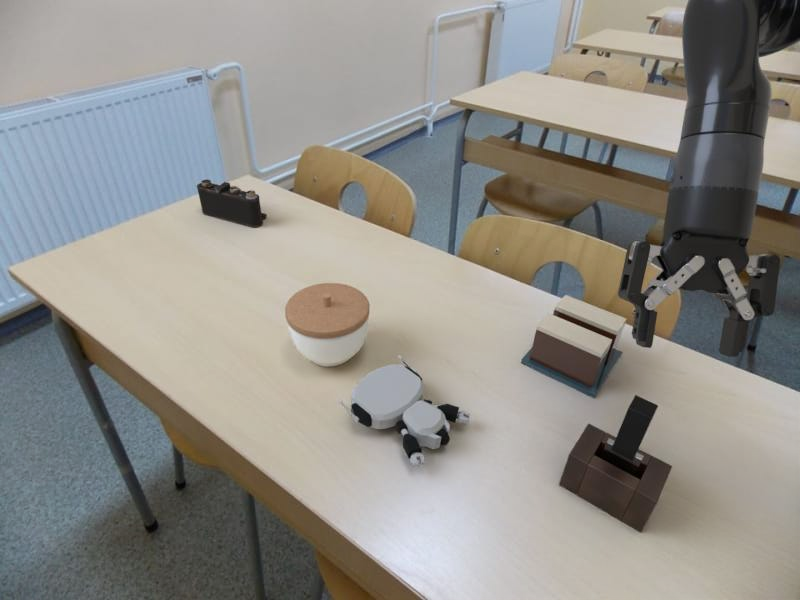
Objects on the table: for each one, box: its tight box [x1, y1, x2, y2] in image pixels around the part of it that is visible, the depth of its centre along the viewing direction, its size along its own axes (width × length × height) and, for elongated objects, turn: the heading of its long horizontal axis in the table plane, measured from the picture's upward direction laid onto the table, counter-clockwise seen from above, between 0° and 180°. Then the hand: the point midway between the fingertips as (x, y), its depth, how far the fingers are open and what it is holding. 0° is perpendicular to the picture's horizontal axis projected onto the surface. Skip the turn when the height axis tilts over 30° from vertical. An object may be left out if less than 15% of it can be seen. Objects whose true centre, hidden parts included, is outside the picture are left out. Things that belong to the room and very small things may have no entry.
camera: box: [196, 179, 268, 229], centre depth 118 cm, size 16×7×8 cm, turn 65°
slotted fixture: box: [520, 294, 627, 399], centre depth 80 cm, size 12×12×8 cm
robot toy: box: [336, 354, 471, 467], centre depth 70 cm, size 12×4×15 cm
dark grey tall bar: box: [601, 394, 659, 476], centre depth 59 cm, size 4×2×15 cm, turn 52°
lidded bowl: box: [284, 282, 371, 368], centre depth 80 cm, size 13×13×11 cm
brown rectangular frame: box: [558, 423, 673, 533], centre depth 62 cm, size 10×6×6 cm, turn 52°
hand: (685, 350), depth 52 cm, fingers open, 8 cm apart
